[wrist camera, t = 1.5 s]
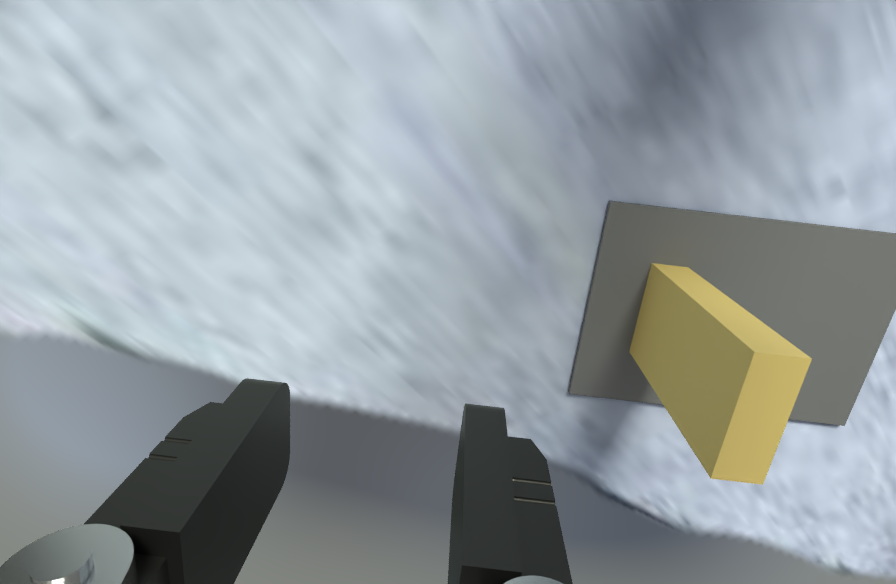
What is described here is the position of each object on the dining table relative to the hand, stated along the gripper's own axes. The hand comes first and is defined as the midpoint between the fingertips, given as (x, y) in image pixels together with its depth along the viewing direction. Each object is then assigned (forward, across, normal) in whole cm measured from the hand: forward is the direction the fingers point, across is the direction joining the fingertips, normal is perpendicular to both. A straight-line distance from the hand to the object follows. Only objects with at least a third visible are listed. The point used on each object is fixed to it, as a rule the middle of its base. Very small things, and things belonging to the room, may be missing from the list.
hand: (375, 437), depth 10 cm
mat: (+25, +20, -6) cm, 33 cm away
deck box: (+25, +15, -6) cm, 30 cm away
